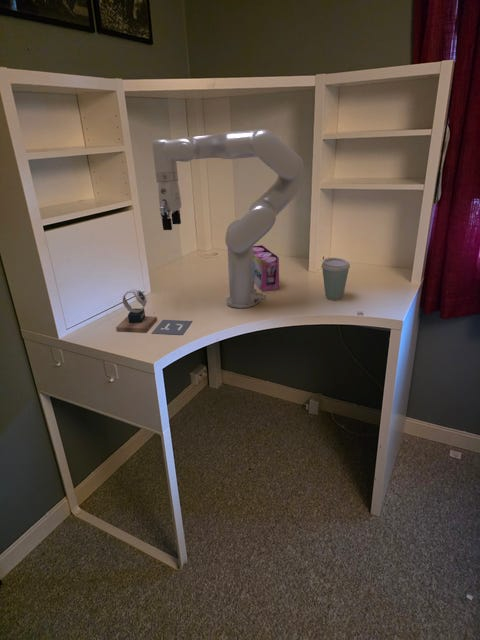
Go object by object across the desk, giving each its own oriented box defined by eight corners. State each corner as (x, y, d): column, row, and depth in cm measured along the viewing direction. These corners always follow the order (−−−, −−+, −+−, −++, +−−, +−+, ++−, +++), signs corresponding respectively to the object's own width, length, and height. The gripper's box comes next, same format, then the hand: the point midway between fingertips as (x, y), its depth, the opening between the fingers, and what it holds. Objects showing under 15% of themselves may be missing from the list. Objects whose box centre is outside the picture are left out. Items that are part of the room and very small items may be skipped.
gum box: (281, 290, 177) (281, 258, 171) (262, 292, 175) (262, 260, 169) (263, 273, 198) (262, 244, 192) (246, 275, 196) (245, 246, 191)
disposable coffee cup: (352, 295, 168) (354, 258, 162) (342, 304, 160) (344, 266, 154) (326, 291, 173) (328, 255, 167) (315, 300, 165) (317, 262, 159)
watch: (146, 322, 149) (142, 293, 144) (124, 323, 149) (119, 293, 145) (150, 316, 154) (146, 287, 149) (128, 316, 154) (124, 288, 150)
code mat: (192, 321, 152) (192, 320, 151) (182, 335, 142) (182, 334, 142) (163, 320, 154) (163, 319, 154) (151, 333, 144) (151, 332, 144)
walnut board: (157, 320, 154) (156, 316, 153) (146, 332, 145) (146, 328, 144) (129, 319, 156) (128, 315, 155) (116, 331, 147) (115, 327, 146)
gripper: (168, 180, 139) (174, 232, 146) (185, 174, 155) (189, 222, 162) (147, 180, 141) (153, 232, 148) (165, 175, 156) (170, 222, 163)
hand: (172, 226), depth 155 cm, fingers open, 9 cm apart
